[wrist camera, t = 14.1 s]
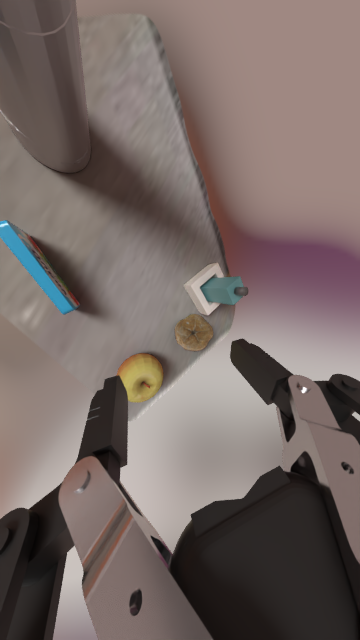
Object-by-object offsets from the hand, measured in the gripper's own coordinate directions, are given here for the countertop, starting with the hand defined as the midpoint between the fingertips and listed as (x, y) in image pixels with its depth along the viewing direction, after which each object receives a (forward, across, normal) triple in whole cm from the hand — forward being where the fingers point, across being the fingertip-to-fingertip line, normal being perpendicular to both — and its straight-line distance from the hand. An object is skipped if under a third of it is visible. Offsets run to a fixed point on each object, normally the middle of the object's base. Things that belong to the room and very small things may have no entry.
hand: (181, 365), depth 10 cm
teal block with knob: (+27, -14, +5) cm, 31 cm away
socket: (+27, -14, +5) cm, 31 cm away
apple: (+20, +7, +18) cm, 28 cm away
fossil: (+24, -8, +14) cm, 28 cm away
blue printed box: (+23, +15, -4) cm, 28 cm away
